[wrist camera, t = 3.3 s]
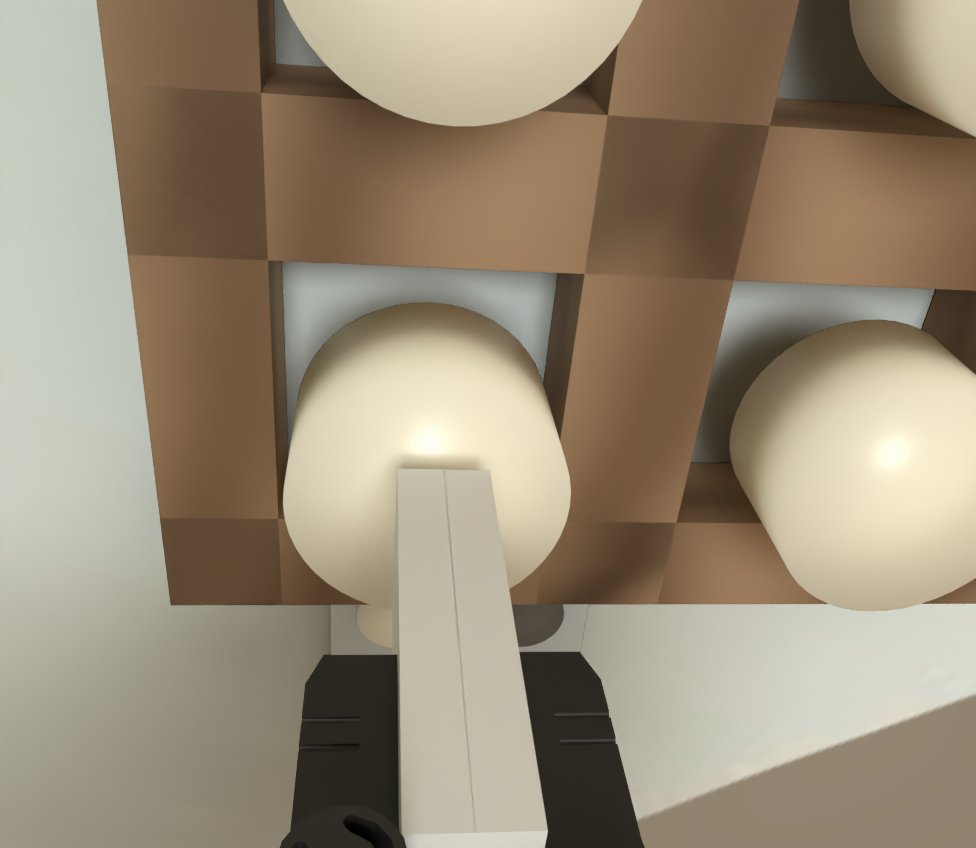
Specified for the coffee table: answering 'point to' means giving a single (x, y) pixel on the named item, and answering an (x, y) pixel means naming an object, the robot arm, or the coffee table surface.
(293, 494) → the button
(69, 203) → the coffee table surface
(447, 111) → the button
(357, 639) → the card
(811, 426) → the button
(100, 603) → the coffee table surface
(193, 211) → the board
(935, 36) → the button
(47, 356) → the coffee table surface
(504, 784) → the robot arm
